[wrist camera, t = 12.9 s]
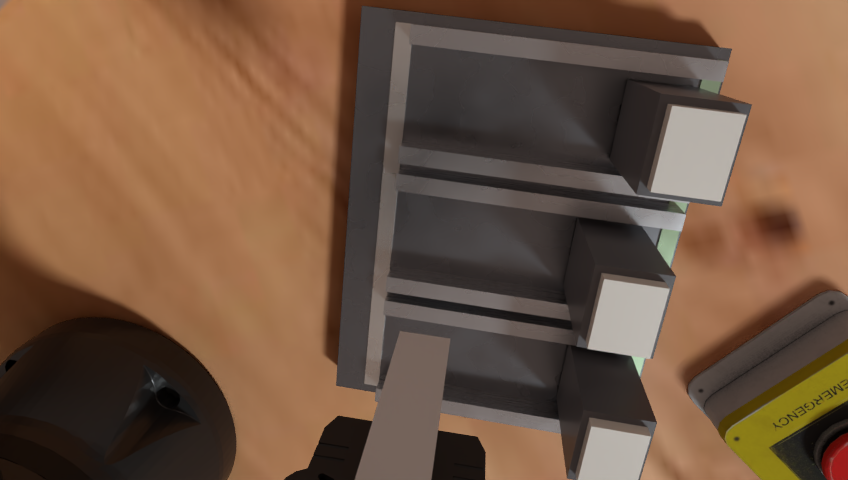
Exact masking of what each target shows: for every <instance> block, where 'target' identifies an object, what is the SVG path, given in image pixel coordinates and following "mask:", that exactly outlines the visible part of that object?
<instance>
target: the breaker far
mask: <svg viewBox="0 0 848 480" xmlns="http://www.w3.org/2000/svg"><path fill="white" fill-rule="evenodd" d="M556 400H557V407H558V415H559V422H560V430H561V437H562V444H563V452H564V459H565V467H566V474H567V478H568V479H573V480H640V478H641V474H642V471H643V467H644V464H645V461H646V457H647V454H648V451H649V447H650V444H651V441H652V437H653V434H654V431H655V427H656V424H657V422H656V419H655V416H654V414H653V411H652V408H651V406H650V403H649V400H648V398H647V395H646V393H645V390H644V387H643V385H642V382H641V379H640V377H639V374H638V371H637V369H636V366H635V363H634V361H633V358H632V356H629V355H623V354H616V353H610V352H604V351H598V350H591V349H587V348H582V347H577V346H574V345H568V348H567V353H566V357H565V362H564V366H563V371H562V375H561V380H560V384H559V389H558V393H557V398H556Z"/></svg>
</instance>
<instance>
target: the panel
mask: <svg viewBox="0 0 848 480" xmlns="http://www.w3.org/2000/svg"><path fill="white" fill-rule="evenodd" d="M731 51H732V49H728V48H720V47H711V46H703V45H694V44H686V43H677V42H668V41H660V40H651V39H643V38H634V37H625V36H617V35H608V34H600V33H591V32H582V31H574V30H565V29H557V28H548V27H540V26H531V25H522V24H514V23H505V22H497V21H488V20H479V19H471V18H462V17H454V16H445V15H436V14H428V13H419V12H411V11H402V10H394V9H385V8H376V7H368V6H362V11H361V26H360V41H359V55H358V70H357V85H356V100H355V115H354V129H353V144H352V159H351V174H350V189H349V203H348V218H347V233H346V248H345V263H344V277H343V292H342V307H341V322H340V337H339V351H338V366H337V381H336V386H342V387H347V388H353V389H359V390H365V391H371V392H376V395H375V401H376V402H379V398H380V395H381V392H382V388H383V385H384V382H385V379H386V375H387V372H388V369H389V366H390V362H391V359H392V356H393V352H394V349H395V346H396V343H397V339H398V336H399V333H400V331H404V332H410V333H417V334H424V335H430V336H437V337H443V338H450V346H449V353H448V360H447V368H446V375H445V383H444V390H443V397H442V405H441V412H440V413H445V414H451V415H456V416H462V417H468V418H474V419H480V420H485V421H491V422H497V423H503V424H508V425H514V426H520V427H526V428H532V429H537V430H543V431H549V432H555V433H560V434H561V430H560V422H559V415H558V407H557V400H556V398H557V393H558V389H559V384H560V380H561V375H562V371H563V366H564V362H565V357H566V353H567V348H568V345H574V346H576V342H575V337H574V333H573V328H572V323H571V319H570V314H569V310H568V305H567V301H566V296H565V291H564V287H563V284H564V280H565V275H566V270H567V265H568V261H569V256H570V251H571V246H572V242H573V237H574V232H575V228H576V223H577V218H578V217H581V218H588V219H595V220H602V221H609V222H616V223H623V224H630V225H637V226H642V227H643V228H644V230H645V231H646V233H647V234H648V236H649V237H650V239H651V240H652V242H653V243H654V245H655V246H656V248H657V249H658V251H659V252H660V254H661V255H662V257H663V258H664V260H665V261H666V262H667V264H668V265H669V267H670V268H671V266H672V263H673V259H674V255H675V252H676V248H677V245H678V241H679V238H680V234H681V231H682V228H683V224H684V221H685V217H686V212H687V209H688V205H689V203H690V202H686V201H679V200H672V199H664V198H657V197H650V196H643V195H636V194H635V192H634V191H633V190H632V188H631V187H630V186H629V184H628V183H627V182H626V181H625V179H624V178H623V177H622V175H621V174H620V173H619V171H618V170H617V169H616V168H615V166H614V165H613V164H612V162H611V161H610V155H611V151H612V146H613V142H614V137H615V133H616V129H617V124H618V120H619V115H620V111H621V106H622V102H623V97H624V93H625V88H626V84H627V79H633V80H641V81H650V82H658V83H666V84H674V85H682V86H690V87H698V88H701V89H705V90H708V91H711V92H714V93H717V94H720V90H721V86H722V83H723V81H724V77H725V73H726V70H727V66H728V63H729V62H728V61H729V58H730V54H731ZM632 358H633V361H634V363H635V366H636V369H637V371H638V374H639V377H640V378H641V374H642V371H643V367H644V363H645V360H646V358H641V357H635V356H632Z"/></svg>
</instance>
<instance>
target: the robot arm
mask: <svg viewBox="0 0 848 480" xmlns="http://www.w3.org/2000/svg"><path fill="white" fill-rule="evenodd" d="M449 346H450V338H443V337H437V336H430V335H424V334H417V333H410V332H404V331H400V333H399V336H398V339H397V343H396V346H395V349H394V352H393V356H392V359H391V362H390V366H389V369H388V372H387V375H386V379H385V382H384V385H383V388H382V392H381V395H380V398H379V402H378V405H377V408H376V411H375V415H374V418H373V421H368V420H362V419H355V418H349V417H343V416H337V417H336V418H335V419H334V420H333V421H332V422H331V423H329V424H328V425H327V426H326V427H325V428H324V431H323V433H322V436H321V438H320V440H319V444H318V445H317V447H316V450H315V452H314V455H313V457H312V459H311V462H310V464H309V467H308V468H307V469H303V470H300V471H296V472H294V473H293V474H291V475H289V476H288V477H286V478H285V480H485V453H486V452H485V450H484V448H483V447H482V445H481V443H480V441H479V439H478V437H475V436H469V435H463V434H457V433H450V432H444V431H438V427H439V419H440V412H441V405H442V397H443V390H444V383H445V375H446V368H447V360H448V353H449ZM235 454H236V434H235V427H234V423H233V419H232V416H231V413H230V410H229V407H228V405H227V403H226V401H225V399H224V397H223V395H222V393H221V391H220V390H219V388H218V387H217V385H216V384H215V382H214V381H213V380H212V378H211V377H210V376H209V374H208V373H207V372H206V371H205V370H204V369H203V367H202V366H201V365H200V364H199V363H198V362H197V361H196V360H195V359H193V358H192V357H191V356H190V355H189V354H188V353H186V352H185V351H184V350H183V349H181V348H180V347H179V346H177V345H176V344H174V343H173V342H171V341H170V340H168V339H167V338H165V337H163V336H161V335H159V334H157V333H155V332H153V331H151V330H149V329H146V328H144V327H142V326H139V325H136V324H133V323H129V322H125V321H121V320H116V319H110V318H98V317H91V318H79V319H73V320H69V321H65V322H62V323H59V324H56V325H54V326H52V327H50V328H48V329H46V330H45V331H43V332H42V333H40V334H39V335H37V336H36V337H34V338H33V339H31V340H30V341H28V342H27V343H25V344H24V345H22V346H21V347H19V348H18V349H16V350H15V351H14V352H13V353H12V354H11V355H10V356H9V357H8V358H6V360H5V361H4V362H3V363H2V364H1V365H0V480H227V479H228V477H229V475H230V473H231V470H232V467H233V464H234V460H235Z"/></svg>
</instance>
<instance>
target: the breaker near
mask: <svg viewBox="0 0 848 480" xmlns="http://www.w3.org/2000/svg"><path fill="white" fill-rule="evenodd" d="M751 106H752V105H751V104H748V103H745V102H742V101H739V100H736V99H733V98H729V97H726V96H723V95H720V94H717V93H714V92H711V91H708V90H705V89H701V88H698V87H690V86H682V85H674V84H666V83H658V82H650V81H641V80H633V79H627V84H626V88H625V93H624V97H623V102H622V106H621V111H620V115H619V120H618V124H617V129H616V133H615V137H614V142H613V146H612V151H611V155H610V161H611V162H612V164H613V165H614V166H615V168H616V169H617V170H618V171H619V173H620V174H621V175H622V177H623V178H624V179H625V181H626V182H627V183H628V184H629V186H630V187H631V188H632V190H633V191H634V192H635V194H636V195H643V196H650V197H657V198H664V199H672V200H679V201H686V202H693V203H701V204H708V205H715V206H722V203H723V200H724V196H725V193H726V190H727V186H728V183H729V180H730V176H731V173H732V170H733V166H734V163H735V160H736V156H737V153H738V149H739V146H740V143H741V139H742V136H743V133H744V129H745V126H746V123H747V119H748V116H749V113H750V109H751Z"/></svg>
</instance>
